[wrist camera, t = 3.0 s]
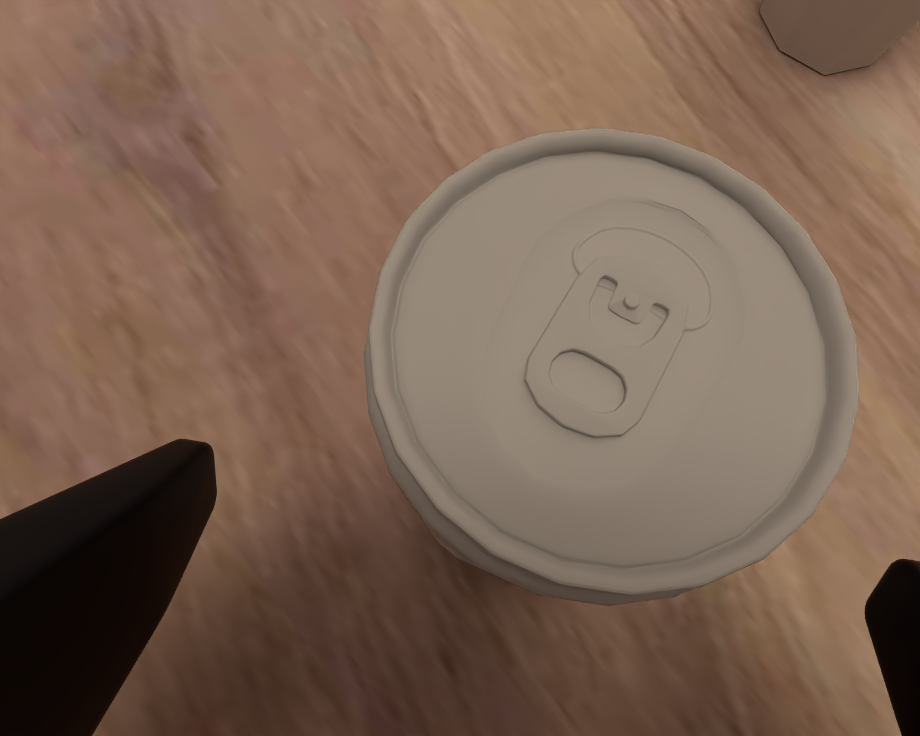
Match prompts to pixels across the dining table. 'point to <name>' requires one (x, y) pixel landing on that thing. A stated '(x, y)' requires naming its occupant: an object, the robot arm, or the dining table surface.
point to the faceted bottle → (838, 30)
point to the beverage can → (609, 367)
